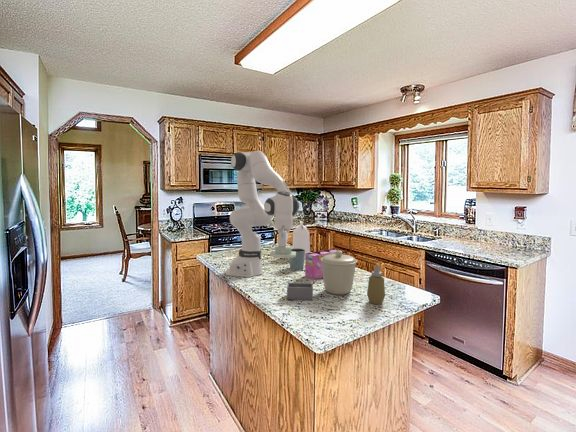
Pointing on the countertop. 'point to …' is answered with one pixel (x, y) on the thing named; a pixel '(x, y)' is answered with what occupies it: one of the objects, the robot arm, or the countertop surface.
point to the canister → (338, 272)
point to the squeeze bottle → (376, 287)
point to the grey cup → (297, 259)
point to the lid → (287, 253)
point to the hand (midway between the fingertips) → (283, 252)
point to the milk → (301, 238)
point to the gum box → (316, 263)
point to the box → (300, 291)
